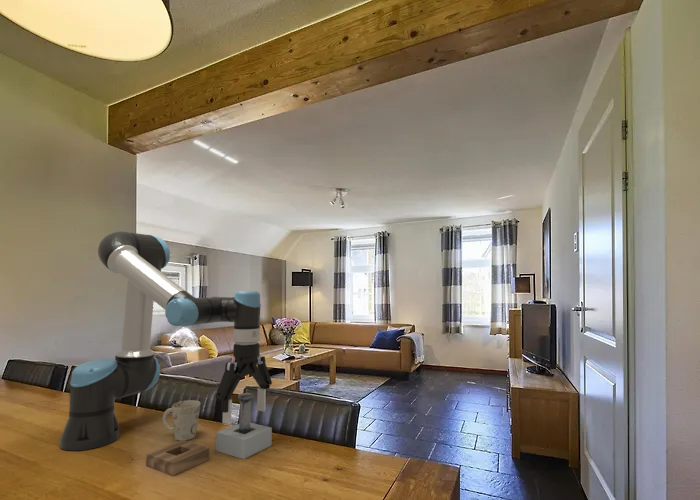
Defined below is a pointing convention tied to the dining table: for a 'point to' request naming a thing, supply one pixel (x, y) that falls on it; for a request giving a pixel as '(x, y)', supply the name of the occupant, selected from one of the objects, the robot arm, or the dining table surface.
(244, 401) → the pin
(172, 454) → the block
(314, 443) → the dining table surface
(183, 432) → the mug
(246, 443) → the socket
